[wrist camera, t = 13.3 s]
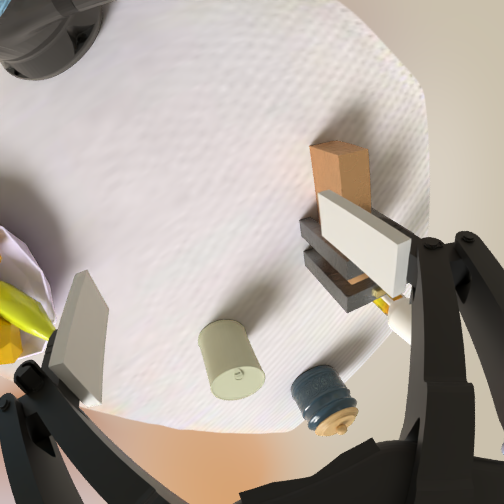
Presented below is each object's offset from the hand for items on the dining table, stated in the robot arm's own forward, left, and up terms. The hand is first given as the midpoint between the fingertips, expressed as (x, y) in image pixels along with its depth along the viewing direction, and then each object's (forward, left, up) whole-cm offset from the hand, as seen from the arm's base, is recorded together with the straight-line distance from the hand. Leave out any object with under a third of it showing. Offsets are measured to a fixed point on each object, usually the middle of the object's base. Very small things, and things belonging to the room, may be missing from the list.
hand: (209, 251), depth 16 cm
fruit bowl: (+7, -35, -27) cm, 45 cm away
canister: (+60, +15, -27) cm, 67 cm away
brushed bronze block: (+15, +22, -27) cm, 38 cm away
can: (+33, -2, -27) cm, 43 cm away
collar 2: (+22, +22, -27) cm, 41 cm away
